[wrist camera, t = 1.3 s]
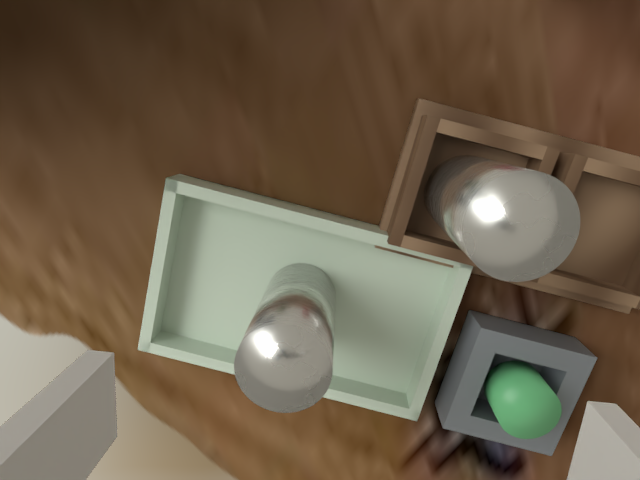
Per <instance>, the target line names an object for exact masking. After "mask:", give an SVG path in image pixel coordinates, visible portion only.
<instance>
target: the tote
mask: <svg viewBox="0 0 640 480" xmlns="http://www.w3.org/2000/svg"><path fill="white" fill-rule="evenodd" d="M387 240H388V233H387V231H383V230H380V227H379V226H378V225H374V224H370V223H366V222H363V221H359V220H355V219H351V218H347V217H343V216H340V215H336V214H332V213H328V212H324V211H320V210H317V209H313V208H309V207H305V206H301V205H298V204H294V203H290V202H286V201H282V200H278V199H275V198H271V197H267V196H263V195H259V194H255V193H252V192H248V191H244V190H240V189H236V188H233V187H229V186H225V185H221V184H217V183H213V182H210V181H206V180H202V179H198V178H194V177H191V176H187V175H183V174H177V175H174V176H171V177H167V178H166V181H165V187H164V193H163V199H162V205H161V211H160V218H159V224H158V230H157V236H156V242H155V248H154V254H153V260H152V266H151V272H150V278H149V284H148V290H147V296H146V302H145V309H144V315H143V321H142V327H141V333H140V339H139V345H138V350H141V351H145V352H149V353H152V354H156V355H160V356H164V357H168V358H172V359H176V360H180V361H184V362H188V363H191V364H195V365H199V366H203V367H207V368H211V369H215V370H219V371H223V372H227V373H231V374H234V375H235V372H234V360H235V355H236V352H237V350H238V348H239V346H240V344H241V341H242V339H243V337H244V335H245V333H246V331H247V329H248V327H249V324H250V322H251V320H252V318H253V316H254V314H255V312H256V310H257V308H258V305H259V303H260V301H261V299H262V297H263V295H264V293H265V291H266V288H267V286H268V284H269V282H270V280H271V278H272V277H273V276H274V274H275V273H276V272H277V271H279V270H280V269H281V268H283V267H285V266H287V265H290V264H294V263H306V264H311V265H314V266H316V267H318V268H320V269H321V270H323V271H324V272H325V273H326V274H327V275H328V276H329V277H330V279H331V280H332V282H333V284H334V287H335V291H336V309H335V330H334V351H333V372H332V379H331V383H330V386H329V388H328V390H327V392H326V393H325V394H324V396H323V397H324V398H328V399H332V400H336V401H340V402H344V403H348V404H352V405H356V406H359V407H363V408H367V409H371V410H375V411H379V412H383V413H387V414H391V415H395V416H398V417H402V418H406V419H410V420H414V421H417V420H418V417H419V415H420V412H421V409H422V406H423V404H424V401H425V398H426V395H427V393H428V390H429V387H430V384H431V382H432V379H433V376H434V373H435V371H436V368H437V365H438V362H439V360H440V357H441V354H442V351H443V349H444V346H445V343H446V340H447V338H448V335H449V332H450V329H451V327H452V324H453V321H454V318H455V316H456V313H457V310H458V307H459V305H460V302H461V299H462V296H463V294H464V291H465V288H466V285H467V283H468V280H469V277H470V274H471V271H472V269H473V266H471V265H467V264H463V263H459V262H455V261H451V260H448V259H444V258H440V257H436V256H432V255H428V254H425V253H421V252H417V251H413V250H409V249H405V248H402V247H398V246H394V245H390V244H388V242H387ZM374 245H377V246H381V247H385V248H388V249H392V250H396V251H400V252H404V253H408V254H411V255H415V256H419V257H423V258H427V259H431V260H434V261H438V262H442V263H446V264H450V265H454V266H453V268H451V267H447V266H443V265H439V264H435V263H432V262H428V261H424V260H420V259H416V258H412V257H409V256H405V255H401V254H397V253H393V252H389V251H386V250H382V249H378V248H375V246H374Z"/></svg>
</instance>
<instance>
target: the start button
mask: <svg viewBox="0 0 640 480" xmlns="http://www.w3.org/2000/svg"><path fill="white" fill-rule="evenodd" d="M483 389H484V394H485V396H486V398H487V400H488V402H489V404H490V406H491V408H492V410H493V412H494V414H495V416H496V418H497V420H498V422H499V424H500V425H501V427H502V428H503V429H504V431H506V432H507V433H508V434H510V435H511V436H514V437H516V438H521V439H534V438H538V437H541V436H543V435H545V434H547V433H548V432H550V431H551V430H552V429H553V428H554V427H555V426H556V425H557V423H558V421H559V419H560V417H561V411H562V409H561V403H560V400H559V398H558V397H557V395H556V394H555V393H554V392H553V390H552V389H551V388H550V387H549V385H548V384H547V383H546V381H545V380H544V379H543V378H542V376H541V375H540V374H539V372H538V371H537V370H536V369H535V368H534V367H533V366H532V365H530V364H528V363H526V362H523V361H516V360H513V361H506V362H503V363H500V364H499V365H497V366H495V367H494V368H493V369H492V370H491V371H490V372H489V373H488V374H487V376H486V378H485V381H484V387H483Z"/></svg>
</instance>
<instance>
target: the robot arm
mask: <svg viewBox="0 0 640 480" xmlns="http://www.w3.org/2000/svg"><path fill="white" fill-rule="evenodd" d="M116 419H117V418H116V392H115V365H114V353H112V352H102V351H93V350H87V351H86V352H85V353H83V354H82V355H81V356H80V357H79V358H78V359H76V360H75V361H74V362H73V363H72V364H71V365H70V366H68V367H67V368H66V369H65V370H64V371H63V372H62V373H61V374H59V375H58V376H57V377H56V378H55V379H54V380H53V381H51V382H50V383H49V384H48V385H47V386H46V387H45V388H43V389H42V390H41V391H40V392H39V393H38V394H37V395H35V396H34V397H33V398H32V399H31V400H30V401H29V402H28V403H26V404H25V405H24V406H23V407H22V408H21V409H20V410H18V411H17V412H16V413H15V414H14V415H13V416H12V417H10V418H9V419H8V420H7V421H6V422H5V423H4V424H3V425H1V426H0V480H86V478H87V477H88V476H89V474H90V473H91V472H92V470H93V469H94V468H95V466H96V465H97V464H98V462H99V461H100V459H101V458H102V457H103V455H104V454H105V452H106V451H107V450H108V448H109V447H110V446H111V444H112V443H113V442H114V440H115V439H116V437H117V420H116ZM567 480H640V428H639V427H638V426H637V425H636V424H635V423H634V422H633V420H632V419H631V418H630V417H629V416H628V415H627V414H626V413H625V412H624V411H623V410H622V409H621V408H620V407H619V406H618V405H617V404H614V403H604V402H594V401H587V405H586V409H585V413H584V417H583V420H582V424H581V428H580V432H579V435H578V439H577V443H576V447H575V450H574V454H573V458H572V462H571V465H570V469H569V473H568V477H567Z"/></svg>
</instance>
